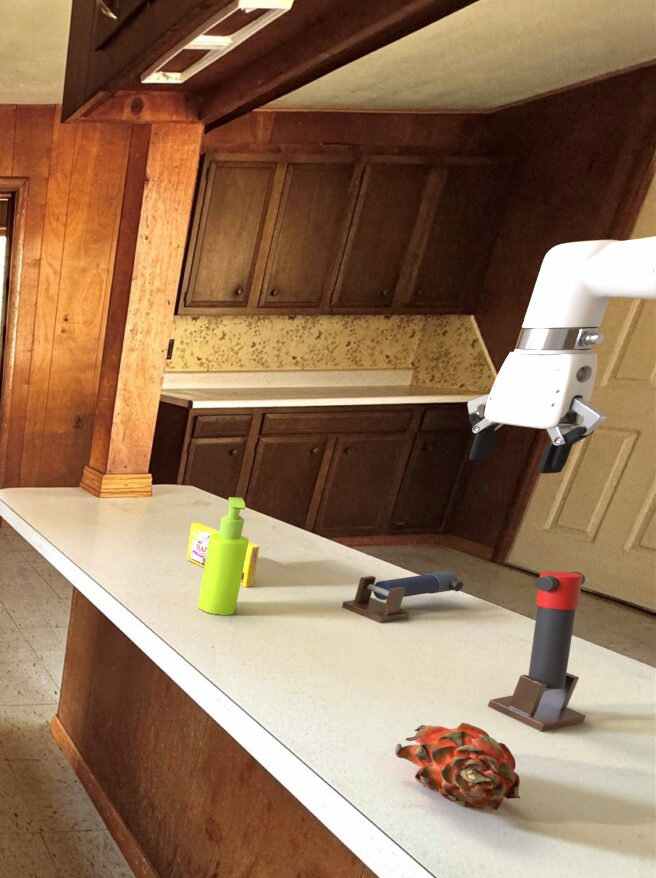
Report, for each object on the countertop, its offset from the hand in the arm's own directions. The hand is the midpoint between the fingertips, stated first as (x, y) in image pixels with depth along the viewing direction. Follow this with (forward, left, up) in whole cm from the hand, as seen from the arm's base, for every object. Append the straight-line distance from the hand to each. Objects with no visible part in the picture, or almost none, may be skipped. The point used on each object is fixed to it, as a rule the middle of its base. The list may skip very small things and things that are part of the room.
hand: (512, 465), depth 97 cm
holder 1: (+6, -9, -27) cm, 29 cm away
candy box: (+17, -33, -27) cm, 46 cm away
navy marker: (-1, -9, -24) cm, 26 cm away
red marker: (+16, +18, -16) cm, 29 cm away
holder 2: (+16, +21, -27) cm, 38 cm away
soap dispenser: (+30, -18, -27) cm, 44 cm away
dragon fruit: (+41, +29, -27) cm, 57 cm away
